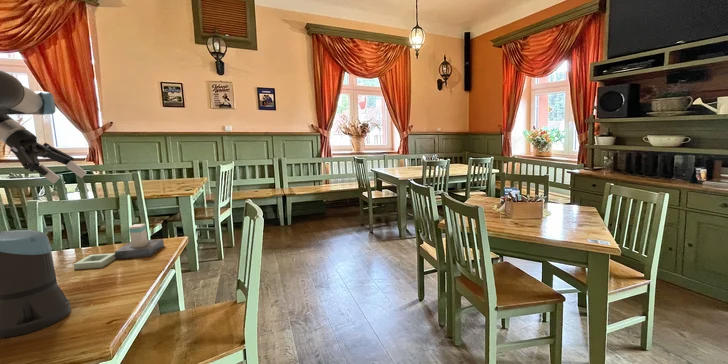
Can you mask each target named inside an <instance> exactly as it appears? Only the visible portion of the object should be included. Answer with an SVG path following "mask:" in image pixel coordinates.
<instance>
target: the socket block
mask: <svg viewBox="0 0 728 364" xmlns="http://www.w3.org/2000/svg"><path fill="white" fill-rule="evenodd" d="M147 240H148V245H146V246H145V247H134V248H132V245H131V241H130V242H128V243H126V244H124V245H123V246H121V247H120V248H118V249H117V250H115V251H114V253H115V256H116V259H115V260H120V259H123V260H125V259H132V258H133V259H134V258H135V259H136V258H137V259H138V258H150V257H152V255H154V254H155V253H156V252H158V251H159V250H161V249H162V248H163V247H165V243H164V238H158V239H147Z"/></svg>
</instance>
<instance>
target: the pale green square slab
mask: <svg viewBox="0 0 728 364" xmlns="http://www.w3.org/2000/svg"><path fill="white" fill-rule="evenodd" d="M115 260H117V259H116V256H115V252H111V253H97V254H89V255H87V256H86V257H83V258H82V259H80V260H78V261H76V262H74V263H73V267H74V270H84V269H85V270H86V269H97V268H99V269H101V268H104V267H106V266H107V265H108V264H110V263H111V262H113V261H115Z"/></svg>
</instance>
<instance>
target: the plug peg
mask: <svg viewBox="0 0 728 364" xmlns="http://www.w3.org/2000/svg"><path fill="white" fill-rule="evenodd" d="M128 229H129V230H128V231H129V236H130V242H131V245H132V248H134V247H145V246H146V245H148V240H149V239H148V233H147V226H146V223H134V224H132V225H131V226H129V227H128Z"/></svg>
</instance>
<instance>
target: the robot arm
mask: <svg viewBox="0 0 728 364" xmlns="http://www.w3.org/2000/svg"><path fill="white" fill-rule="evenodd" d="M55 113H56V103H55V98H54V96H53V94H52V93H51V92H48V91H41V90H39V91H35V90H34V91H33V90H32V89H31V88H28V87H27V86H24V85H23V83H21V81H20V79H17V78H16V77H15V76H13V75H12V74H10V73H9V72H6V71H4V70H1V69H0V141H1V142H2V143H4V144H5V145H6V146H8V147H9V148H10V152H11V153H13V154H14V156H15V157H16V158H17V159H18V161H19V163H20V164H21V166H22V167H23V168H24V169H25V170H28V171H29V172H31V173H33V172H36V173H38V174H39V175H41V176H42V177H44V178H45V179H47V180H48V181H49V182H51V183H52V184H56V183H57V182H58V181H59V179H61V177H60V176H59V175H58V174H56V173H55V172H54V171H53V170H51V169H50V168H49V167H47V166H46V165H44V164H40V161H39V158H38V157H40V158H43V159H50V160H52V161H55V162H57V163H61V164H63V165H65V168H67V169H68V170H70V171H71V172H72V173H74V174H75V175H76V176H78V177H79V178H80V179H81V178H82V179H83V177H85V176H86V174H87V171H86V170H85V169H83V168H82V167H81V166H79V165H78V164H77V163H76V162H74V160H75V158H74V156H72V155H69V154H67V153H65V152H63V151H62V150H59V149H57V148H55V147H53V146H52V145H50V144H48V142H44V143H42V144H41V143H39V142H38V141H37V140H38V139H37V136H36V135H35V134H33V133H32V132H31V131H30V130H29V129H26V127H25V126H23V125H22V124H20V122H18V121H16V120H15V119H14V118H12V117H11V116H10V115H38V116H39V115H40V116H41V115H54V114H55ZM52 251H53V247H52V246H51V244H50V239H49V237H48V235H47V234H46V233H45V232H42V231H40V230H35V229H34V230H33V229H16V230H5V231H1V232H0V339H1V338H10V337H12V338H13V337H17V336H22V335H26V334H29V333H33V332H36V331H39V330H42V329H44V328H47V327H48V326H51V325H53V324H55V323H57V322H59V321H61V320H62V319H64V318H65V317H66V316H68V315H69V314H70V312H71V310H72V308H71V304H70V303H71V302H70V300H69V299H68V298H67V297H66V295H65V294H64V292H63V290H62V289H61V287H60V286H59V284H58V281H57V276H56V275H57V274H56V270H55V264H54V258H53V254H52V253H53V252H52Z"/></svg>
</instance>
